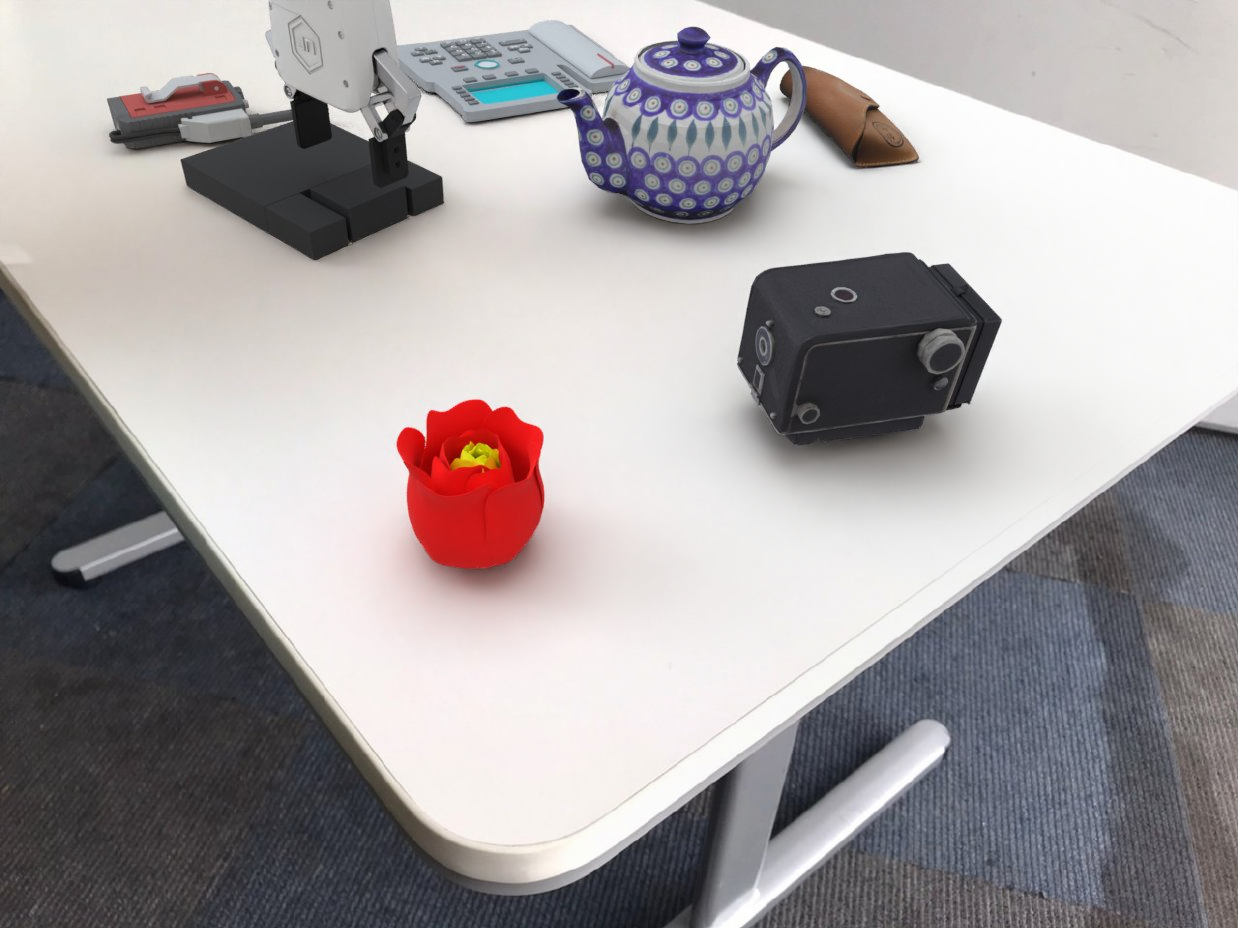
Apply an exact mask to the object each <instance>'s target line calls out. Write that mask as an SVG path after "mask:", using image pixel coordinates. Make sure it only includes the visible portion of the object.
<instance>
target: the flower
mask: <svg viewBox="0 0 1238 928" xmlns="http://www.w3.org/2000/svg"><path fill="white" fill-rule="evenodd" d="M425 421H426V423H425V425H426V426H425V427H426V429H425V430H426V431H425V435H424V434H423V433H422V432H421V430H419V429H417V428H415V427H411V426H405V427H404V428H403V429H402V430H401V431H400V432H399V433H398V436H397V439H396V451H397V452H398V454H399V456H400V458H401V460H402V463H403V464H404V466H405V468H406V469H407V470H408V477H407V484H406V506H407V514H408V517H409V522H410V525H411V528H412V530H413V533H414V536H415V537H416V539H417V541H418V542H419V544H420V545H421V546H422V548H423V550H424V552H426V554H427V555H428V557H429V558H430V559H431V560H432V561H433V562H435V563H436V564H438V565H440V566H445V567H451V568H456V569H467V570H468V569H472V570H473V569H474V570H475V569H489V568H492V567H494V566H501V565H505V564H507V563H509V562H511V561H512V560H514V559H515V558H516V557H517V556H518V555H519V553H520V552H522V550H523V549H524V548H525V547H526V545H527V543H529V542H530V540H531V538H532V537H533V535H534V533H535V531H536V530H537V528H538V526H539V524H540V522H541V520H542V515H543V511H544V508H545V499H546V498H545V497H546V496H545V495H546V494H545V485H544V481H543V478H542V475H541V470H540V459H541V453H542V448H543V444H544V440H545V436H544V435H545V434H544V432H543V430H542V429H541V428H540V426H538V425H535V424H532V423H528V422H525V421H523V419H520V418H519V416H518V415H517V413H516V412H515V410H514V409H513V408H511V407H510V406H500V407H497V408H495V409H494V410H493V409H492V408H491V406H490V405H489V404H488V403H487V401H485V400H483V399H477V398H476V399H473V398H472V399H467V400H463V401H460V402H459V403H457V404H455V405H454V406H452V407H451V408H449V409H447V410H443V411H440V410H435V409H430V410H429V411H428V413H427V414H426V420H425Z"/></svg>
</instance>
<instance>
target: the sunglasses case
mask: <svg viewBox="0 0 1238 928" xmlns="http://www.w3.org/2000/svg"><path fill="white" fill-rule="evenodd" d="M802 67H803V69H804V72H805V76H806V81H807V99H806V105H805V109H804V112H805V114H806V115H807V116H808V117H809V118H810V119H811V120H812V121H813V122H814V123H815V124H816V125H818V127H820V128H821V129H822V130H823V132H824V133H825V134H826V135H827V136H828V137H829V138H830V139H831V140H833V142H834V143H835V144H836V145H837V146H838V147H839V148H840V149H841V150H842V151H843V152H844V154H845V155H846V156H847V157H849V158H850V159H851V160H852V161H853V163H854V165H855V166H856V167H857V168H882V167H891V166H897V165H903V164H908V163H913V162H916V161H918V160H919V159H920V156H919V153H918V152H917V150H916V148H915V146H914V145H913V144H912V142H911V141H910V140H909V139H908V137H906V136H905V134H904V133H903V132H902V131H901V130H900V128H898V127H897V125H895V123H893V122H892V120H891V119H890V118H889V117H887V116H886V114H884V113H883V112H882V111H881V110H880V109H879V108H880V104H879V103H877V101H875V100H874V99H873V97H871V96H870V95H868V94H867V93H865V92H864V91H863V90H860V89H859V88H857V87H855V86H854V85H852V84H850V83H848V82H846V81H845V80H843V79H842V78H839V77H837V76H836V75H834V74H831V73H829V72H826V71H824V70H821V69H818V68H816V67H812V66H808V65H802ZM779 91H780V93H781V94H782V95H783V96H785V97H786V98H787V99H788V100H790V101H791V98H792V93H793V81H792V75H791V72H790V69H788V70H787V71H786V72H785V73H784V74H783V75H782V77H781V80H780V82H779Z"/></svg>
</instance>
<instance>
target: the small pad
mask: <svg viewBox="0 0 1238 928" xmlns="http://www.w3.org/2000/svg"><path fill="white" fill-rule="evenodd" d="M310 192H311V198H312V200H313V201H315V202H317V203H319V204H320V205H322V206H324V207H326V208H328V209H330V210H332V211H333V212H335V213H337V214H339V215H341V216H343V217H344V218H345V220H346V227H347V234H348V241H349V242H351V243H354V242H356V241H359V240H361V239H364V238H365V237H367V236H370V235H372V234H375V233H377V232H380V231H381V230H383V229H386V228H388V227H390V226H393V225H395V224H398V223H399V222H401V221H404V220H407V219H408V218H409V213H408V210H407V200H406V189H405V185H403V184H401V183H399V182H395V183H392V184H390V185H387V186H385V187H383V188H379V187H377V186H375V185H374V183H373V176H372V169H371V168H369V167H364V168H362V169H359V170H356V171H354V172H351V173H349V174H346V175H344V176H341V177H339V178H336V179H334V180H331V181H329V182H326V183H324V184H321V185H318V186H316V187H313V188H311V189H310Z"/></svg>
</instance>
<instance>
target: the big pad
mask: <svg viewBox="0 0 1238 928" xmlns="http://www.w3.org/2000/svg"><path fill="white" fill-rule="evenodd" d="M330 124H331V132H332V138H331V139H330V140H328V141H325V142H323V143H320V144H317V145H314V146H312V147H309V148H306V149H302V148H300V147H299V146H298V145H297V141H296V135H295V129H294V123H293V120H292V121H288V122H285V123H284V124H280V125H277V126H274V127H272V128H268V129H265V130H262V131H259V132H256V133H252V135H250V136H248V137H241V138H238V139H236V140H233V141H230V142H227V143H225V144H222V145H218V146H216V147H212V148H210V149H207V150H203V151H201V152H197V153H194V154H191V155H189V156H187V157H186V156H185V157H183V158H181V159H180V164H181V167H182V172H183V176H184V180H185V184H186V186H187V187H188V188H190V189H192V190H193V191H195V192H197V193H199V194H200V195H202V196H204V197H205V198H207V199H209V200H211V201H212V202H214V203H216V204H217V205H219V206H220V207H223V208H224V209H226V210H227V211H230V212H231V213H233V214H235V215H236V216H238V217H240V218H241V219H242V220H245V221H246V222H248V223H250V224H252V225H253V226H255V227H257V228H259V229H260V230H262V231H264V232H265V233H267V234H270V235H271V236H273V237H274V238H275V239H277V240H280V241H281V242H283V243H284V244H286V245H288V246H290V247H291V248H293V249H295V250H297V251H298V252H300V253H302V254H304V255H305V256H307V257H309V258H310V259H312V260H313V261H315V260H319V259H320V258H323V257H326V256H327V255H329V254H331V253H333V252H336V251H339V250H340V249H341V250H342V249H343V248H345V247H347V246H349V245H350V243H349V242H350V240H348V234H347V227H346V220H345V218H344V217H343V216H341V215H339V214H337V213H335V212H333V211H332V210H330V209H328V208H326V207H324V206H322V205H320V204H319V203H317V202H315V201H313V200H312V198H311V192H310V189H311V188H313V187H316V186H318V185H321V184H324V183H326V182H329V181H331V180H334V179H336V178H339V177H341V176H344V175H346V174H349V173H351V172H354V171H356V170H359V169H362V168H364V167H369V168H371V159H370V150H369V140H367V139H365V138H362V137H360V136H358V135H356V134H354V133H352V132H350V131H348V130H347V129H344V128H342V127H340V126H337V125H336V124H333V123H331V122H330ZM371 169H372V168H371ZM408 170H409V174H408V176H407V177H406V178H404V179H402V180H399V181H397V182H399V183H401V184H403V185H405V189H406V200H407V210H408V214H410V215H412V216H417V215H419V214H422V213H424V212H426V211H430V210H431V209H433V208H435V207H438V206H441V205H442V204H444V203H445V198H444V197H445V196H444V185H443V184H444V183H443V175H442V176H441V175H440V174H438V173H436V172H433V171H431V170H429V169H427V168H425V167H423V166H420V165H419V164H417V163H414V162H413V161H410V160H408Z"/></svg>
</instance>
